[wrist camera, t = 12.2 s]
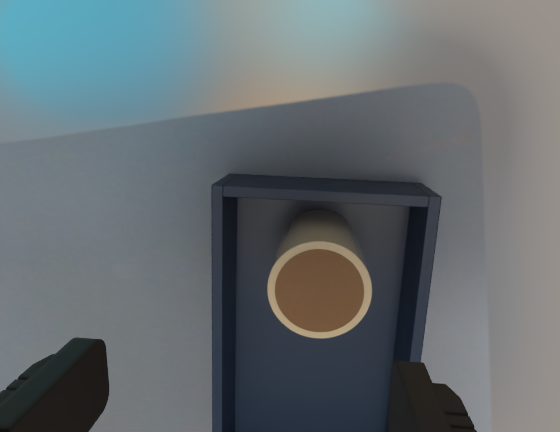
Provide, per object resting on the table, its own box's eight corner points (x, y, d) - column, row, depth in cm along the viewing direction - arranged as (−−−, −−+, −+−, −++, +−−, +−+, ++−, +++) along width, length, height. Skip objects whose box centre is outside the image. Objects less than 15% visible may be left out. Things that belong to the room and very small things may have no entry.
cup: (317, 192, 34) (316, 219, 25) (376, 246, 35) (395, 291, 26) (264, 249, 36) (245, 292, 27) (321, 299, 36) (321, 358, 28)
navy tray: (228, 173, 35) (211, 185, 29) (421, 182, 34) (441, 196, 28) (227, 435, 41) (212, 487, 35) (390, 452, 40) (402, 508, 34)
